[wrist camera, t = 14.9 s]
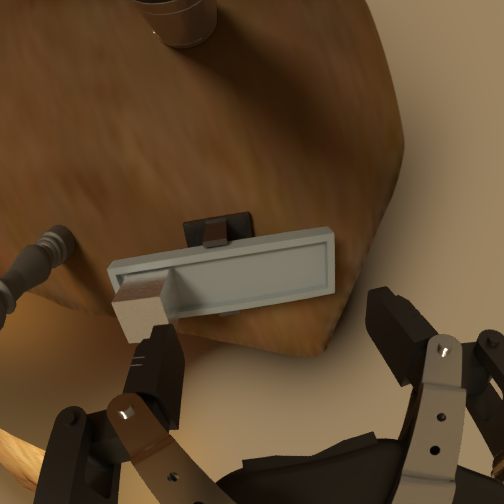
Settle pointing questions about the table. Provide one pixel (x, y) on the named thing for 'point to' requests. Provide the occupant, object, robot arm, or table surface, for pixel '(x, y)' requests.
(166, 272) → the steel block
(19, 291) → the candle holder
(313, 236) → the beam
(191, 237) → the pivot stand
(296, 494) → the robot arm
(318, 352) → the table surface
